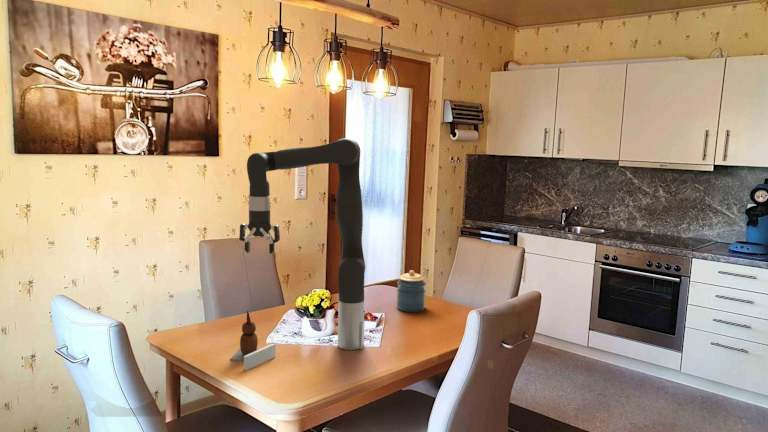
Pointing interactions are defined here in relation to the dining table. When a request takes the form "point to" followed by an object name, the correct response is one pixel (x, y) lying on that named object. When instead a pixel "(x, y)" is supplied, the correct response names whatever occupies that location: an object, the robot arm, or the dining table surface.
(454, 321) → the dining table surface
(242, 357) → the slate coaster
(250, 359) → the frosted wall
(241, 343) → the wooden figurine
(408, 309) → the canister
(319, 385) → the dining table surface
